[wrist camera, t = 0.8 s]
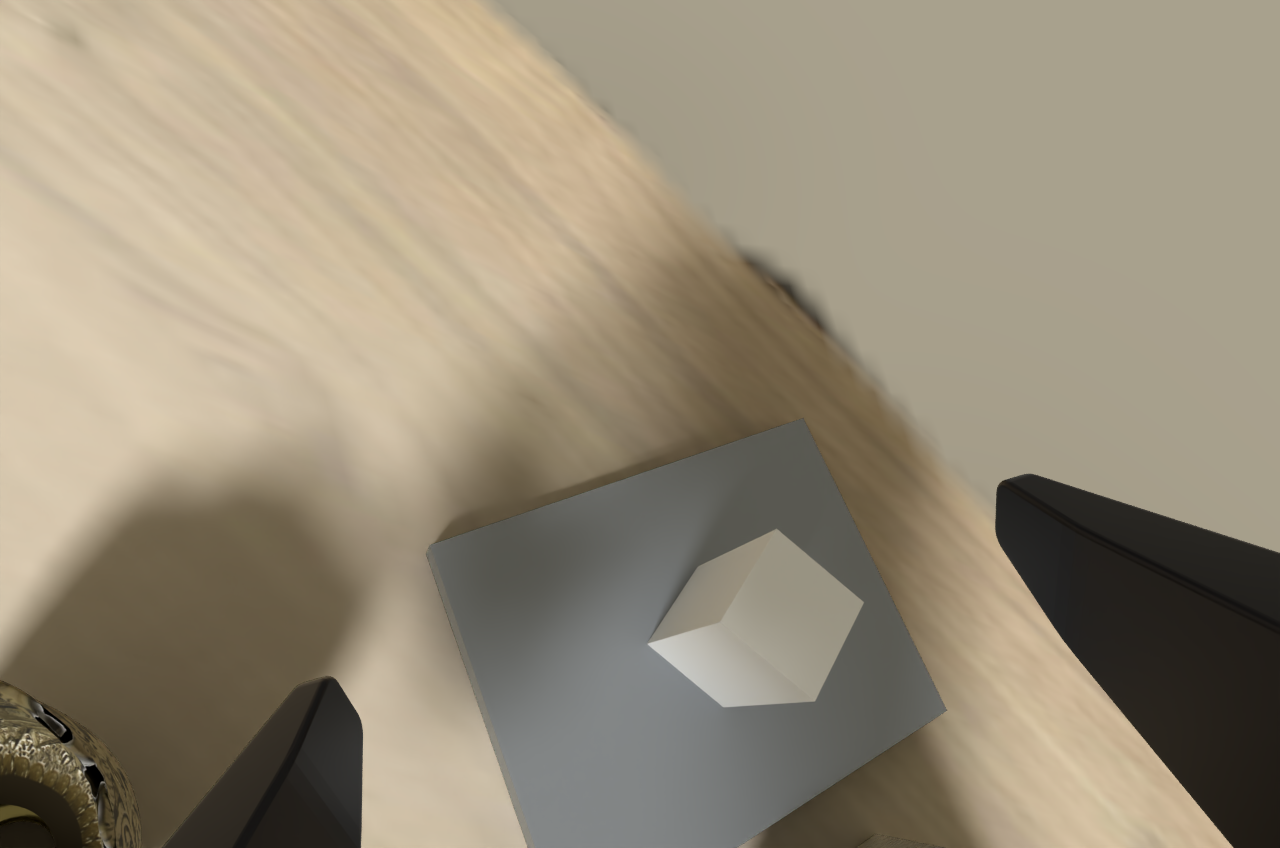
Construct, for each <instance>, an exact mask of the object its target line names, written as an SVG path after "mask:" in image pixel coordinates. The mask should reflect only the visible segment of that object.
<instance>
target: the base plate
mask: <svg viewBox="0 0 1280 848" xmlns="http://www.w3.org/2000/svg"><path fill="white" fill-rule="evenodd" d="M426 555H427V558H428V561H429V564H430V566H431V569H432V572H433V575H434V578H435V581H436V584H437V587H438V590H439V592H440V595H441V598H442V601H443V604H444V607H445V610H446V613H447V616H448V618H449V621H450V624H451V627H452V630H453V633H454V636H455V639H456V642H457V644H458V647H459V650H460V653H461V656H462V659H463V662H464V665H465V668H466V670H467V673H468V676H469V679H470V682H471V685H472V688H473V691H474V694H475V696H476V699H477V702H478V705H479V708H480V711H481V714H482V717H483V720H484V722H485V725H486V728H487V731H488V734H489V737H490V740H491V743H492V746H493V748H494V751H495V754H496V757H497V760H498V763H499V766H500V769H501V772H502V774H503V777H504V780H505V783H506V786H507V789H508V792H509V795H510V798H511V800H512V803H513V806H514V809H515V812H516V815H517V818H518V821H519V824H520V826H521V829H522V832H523V835H524V838H525V841H526V844H527V847H528V848H737V847H739V846H740V845H742V844H744V843H745V842H747V841H748V840H750V839H751V838H753V837H754V836H756V835H757V834H759V833H760V832H762V831H763V830H765V829H767V828H768V827H770V826H771V825H773V824H774V823H776V822H777V821H779V820H780V819H782V818H783V817H785V816H786V815H788V814H789V813H791V812H793V811H794V810H796V809H797V808H799V807H800V806H802V805H803V804H805V803H806V802H808V801H809V800H811V799H812V798H814V797H816V796H817V795H819V794H820V793H822V792H823V791H825V790H826V789H828V788H829V787H831V786H832V785H834V784H835V783H837V782H838V781H840V780H842V779H843V778H845V777H846V776H848V775H849V774H851V773H852V772H854V771H855V770H857V769H858V768H860V767H861V766H863V765H865V764H866V763H868V762H869V761H871V760H872V759H874V758H875V757H877V756H878V755H880V754H881V753H883V752H884V751H886V750H887V749H889V748H891V747H892V746H894V745H895V744H897V743H898V742H900V741H901V740H903V739H904V738H906V737H907V736H909V735H910V734H912V733H913V732H915V731H917V730H918V729H920V728H921V727H923V726H924V725H926V724H927V723H929V722H930V721H932V720H933V719H935V718H936V717H938V716H940V715H941V714H943V713H944V712H946V711H947V709H946V707H945V705H944V703H943V701H942V699H941V697H940V695H939V693H938V691H937V689H936V687H935V685H934V683H933V681H932V679H931V677H930V675H929V673H928V671H927V669H926V667H925V665H924V663H923V661H922V659H921V657H920V655H919V653H918V650H917V648H916V646H915V644H914V642H913V640H912V638H911V636H910V634H909V632H908V630H907V628H906V626H905V624H904V622H903V620H902V618H901V616H900V614H899V612H898V610H897V608H896V606H895V604H894V602H893V600H892V598H891V596H890V594H889V592H888V590H887V587H886V585H885V583H884V581H883V579H882V577H881V575H880V573H879V571H878V569H877V567H876V565H875V563H874V561H873V559H872V557H871V555H870V553H869V551H868V549H867V547H866V545H865V543H864V541H863V539H862V537H861V535H860V533H859V531H858V529H857V526H856V524H855V522H854V520H853V518H852V516H851V514H850V512H849V510H848V508H847V506H846V504H845V502H844V500H843V498H842V496H841V494H840V492H839V490H838V488H837V486H836V484H835V482H834V480H833V478H832V476H831V474H830V472H829V470H828V468H827V465H826V463H825V461H824V459H823V457H822V455H821V453H820V451H819V449H818V447H817V445H816V443H815V441H814V439H813V437H812V435H811V433H810V431H809V429H808V427H807V425H806V423H805V421H804V419H803V418H802V419H799V420H796V421H793V422H790V423H787V424H784V425H781V426H779V427H776V428H773V429H770V430H767V431H764V432H761V433H758V434H755V435H752V436H749V437H746V438H743V439H740V440H737V441H734V442H731V443H729V444H726V445H723V446H720V447H717V448H714V449H711V450H708V451H705V452H702V453H699V454H696V455H693V456H690V457H687V458H684V459H681V460H678V461H676V462H673V463H670V464H667V465H664V466H661V467H658V468H655V469H652V470H649V471H646V472H643V473H640V474H637V475H634V476H631V477H628V478H626V479H623V480H620V481H617V482H614V483H611V484H608V485H605V486H602V487H599V488H596V489H593V490H590V491H587V492H584V493H581V494H578V495H576V496H573V497H570V498H567V499H564V500H561V501H558V502H555V503H552V504H549V505H546V506H543V507H540V508H537V509H534V510H531V511H528V512H526V513H523V514H520V515H517V516H514V517H511V518H508V519H505V520H502V521H499V522H496V523H493V524H490V525H487V526H484V527H481V528H478V529H475V530H473V531H470V532H467V533H464V534H461V535H458V536H455V537H452V538H449V539H446V540H443V541H440V542H437V543H434V544H431V545H430V546H429V548H428V551H427V553H426Z"/></svg>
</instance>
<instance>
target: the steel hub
mask: <svg viewBox="0 0 1280 848" xmlns="http://www.w3.org/2000/svg"><path fill="white" fill-rule="evenodd" d="M857 848H944V847H939V846H934V845H929V844H924V843H919V842H914V841H909V840H904V839H898V838H893V837H888V836H883V835H878V834H875V835H874V836H872V837H871V838H870V839H868V840H867V841H865V842H864V843H863V844H861V845H860V846H858V847H857Z"/></svg>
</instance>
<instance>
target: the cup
mask: <svg viewBox="0 0 1280 848" xmlns="http://www.w3.org/2000/svg"><path fill="white" fill-rule="evenodd" d="M19 821H29V822H34V823H37V824H40V825H42V826H43V827H45V828H46V829H47V830H48V831H49V832H50V833H51V835H52V836H53V839H54V843H55V848H141V824H140V817H139V810H138V806H137V802H136V799H135V795H134V791H133V789H132V787H131V785H130V782H129V780H128V778H127V775H126V774H125V772H124V770H123V769H122V767H121V766H120V764H119V762H118V761H117V759H116V758H115V757H114V755H113V754H112V753H111V752H110V751H109V750H108V748H107V747H106V746H105V745H104V744H103V743H102V742H101V741H100V740H99V739H98V738H97V737H96V736H95V735H93V734H92V733H91V732H90V731H89V730H88V729H86V728H85V727H83V726H82V725H80V724H79V723H77V722H76V721H74V720H73V719H71V718H70V717H68V716H67V715H65V714H63V713H61V712H60V711H58V710H56V709H54V708H52V707H50V706H48V705H46V704H44V703H42V702H40V701H38V700H36V699H33V698H32V697H31V696H29V695H28V694H26V693H25V692H23V691H22V690H20V689H18V688H16V687H14V686H12V685H10V684H8V683H6V682H4V681H1V680H0V827H1V826H3V825H6V824H9V823H13V822H19Z"/></svg>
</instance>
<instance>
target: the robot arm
mask: <svg viewBox="0 0 1280 848" xmlns="http://www.w3.org/2000/svg"><path fill="white" fill-rule="evenodd" d="M996 496H997V497H996V521H995V530H996V536H997V539H998V542H999V544H1000V546H1001V547H1002V549H1003V551H1004V552H1005V554H1006V555H1007V557H1008V558H1009V560H1010V561H1011V563H1012V564H1013V566H1014V567H1015V569H1016V570H1017V572H1018V573H1019V575H1020V576H1021V578H1022V579H1023V581H1024V582H1025V584H1026V585H1027V587H1028V588H1029V590H1030V591H1031V593H1032V594H1033V596H1034V598H1035V599H1036V601H1037V602H1038V604H1039V605H1040V607H1041V608H1042V610H1043V611H1044V613H1045V614H1046V616H1047V617H1048V619H1049V620H1050V622H1051V623H1052V625H1053V626H1054V628H1055V629H1056V631H1057V632H1058V633H1059V635H1060V636H1061V638H1062V639H1063V640H1064V642H1065V643H1066V644H1067V646H1068V647H1069V648H1070V649H1071V651H1072V652H1073V653H1074V654H1075V656H1076V657H1077V658H1078V659H1079V661H1080V662H1081V663H1082V664H1083V666H1084V667H1085V668H1086V669H1087V670H1088V672H1089V673H1090V674H1091V675H1092V676H1093V678H1094V679H1095V680H1096V681H1097V683H1098V684H1099V685H1100V686H1101V687H1102V689H1103V690H1104V691H1105V692H1106V693H1107V695H1108V696H1109V697H1110V698H1111V700H1112V701H1113V702H1114V703H1115V704H1116V706H1117V707H1118V708H1119V709H1120V710H1121V712H1122V713H1123V714H1124V715H1125V717H1126V718H1127V719H1128V720H1129V721H1130V723H1131V724H1132V725H1133V726H1134V727H1135V729H1136V730H1137V731H1138V732H1139V733H1140V735H1141V736H1142V737H1143V738H1144V740H1145V741H1146V742H1147V743H1148V744H1149V746H1150V747H1151V748H1152V749H1153V750H1154V752H1155V753H1156V754H1157V755H1158V757H1159V758H1160V759H1161V760H1162V761H1163V763H1164V764H1165V765H1166V766H1167V767H1168V769H1169V770H1170V771H1171V772H1172V774H1173V775H1174V776H1175V777H1176V778H1177V780H1178V781H1179V782H1180V783H1181V784H1182V786H1183V787H1184V788H1185V789H1186V791H1187V792H1188V793H1189V794H1190V795H1191V797H1192V798H1193V799H1194V800H1195V801H1196V803H1197V804H1198V805H1199V806H1200V808H1201V809H1202V810H1203V811H1204V812H1205V814H1206V815H1207V816H1208V817H1209V818H1210V820H1211V821H1212V822H1213V823H1214V825H1215V826H1216V827H1217V828H1218V829H1219V831H1220V832H1221V833H1222V834H1223V835H1224V837H1225V838H1226V839H1227V840H1228V842H1229V843H1230V844H1231V845H1232V846H1233V848H1280V553H1278V552H1275V551H1272V550H1269V549H1266V548H1263V547H1259V546H1256V545H1253V544H1250V543H1247V542H1244V541H1240V540H1238V539H1234V538H1231V537H1228V536H1225V535H1222V534H1219V533H1216V532H1213V531H1210V530H1207V529H1203V528H1200V527H1197V526H1194V525H1191V524H1188V523H1185V522H1181V521H1178V520H1175V519H1172V518H1169V517H1166V516H1163V515H1160V514H1157V513H1153V512H1150V511H1147V510H1144V509H1141V508H1138V507H1135V506H1132V505H1128V504H1125V503H1122V502H1119V501H1116V500H1113V499H1110V498H1106V497H1103V496H1100V495H1097V494H1094V493H1091V492H1087V491H1085V490H1081V489H1079V488H1075V487H1072V486H1069V485H1066V484H1063V483H1060V482H1056V481H1053V480H1050V479H1047V478H1044V477H1041V476H1038V475H1034V474H1024V475H1020V476H1017V477H1013V478H1010V479H1007V480H1004V481H1002V482H1001V483H1000V484H999V485H998V487H997V494H996ZM362 763H363V729H362V724H361V720H360V717H359V715H358V713H357V712H356V710H355V708H354V707H353V705H352V704H351V702H350V700H349V699H348V697H347V696H346V694H345V693H344V691H343V689H342V688H341V686H340V685H339V683H338V682H337V680H336V679H334V678H333V677H331V676H324V677H321V678H317V679H314V680H310V681H307V682H303V683H301V684H299V685H298V686H296V688H295V689H294V690H293V691H292V692H291V693H290V694H289V695H288V697H287V698H286V699H285V700H284V702H283V703H282V704H281V705H280V706H279V708H278V709H277V710H276V711H275V712H274V714H273V715H272V716H271V717H270V718H269V720H268V721H267V722H266V723H265V724H264V726H263V727H262V728H261V729H260V730H259V732H258V733H257V734H256V735H255V736H254V738H253V739H252V740H251V741H250V742H249V744H248V745H247V746H246V747H245V748H244V750H243V751H242V752H241V753H240V755H239V756H238V757H237V758H236V759H235V761H234V762H233V763H232V764H231V765H230V767H229V768H228V769H227V770H226V771H225V773H224V774H223V775H222V776H221V777H220V779H219V780H218V781H217V782H216V783H215V785H214V786H213V787H212V788H211V789H210V791H209V792H208V793H207V794H206V795H205V797H204V798H203V799H202V800H201V802H200V803H199V804H198V805H197V806H196V808H195V809H194V810H193V811H192V812H191V814H190V815H189V816H188V817H187V818H186V820H185V821H184V822H183V823H182V824H181V826H180V827H179V828H178V829H177V830H176V832H175V833H174V834H173V835H172V836H171V838H170V839H169V840H168V841H167V842H166V844H165V845H164V846H163V847H162V848H361V831H362Z"/></svg>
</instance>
